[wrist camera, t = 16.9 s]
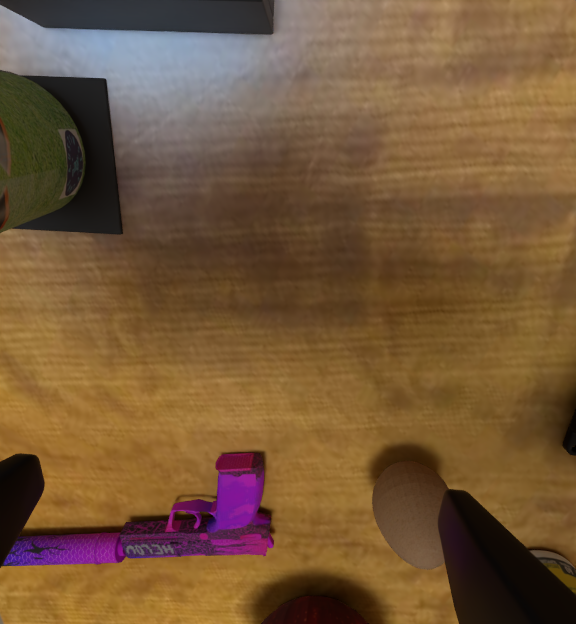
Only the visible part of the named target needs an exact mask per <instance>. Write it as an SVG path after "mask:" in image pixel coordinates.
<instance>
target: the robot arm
mask: <svg viewBox="0 0 576 624" xmlns="http://www.w3.org/2000/svg"><path fill="white" fill-rule="evenodd" d="M574 445H575V446H574ZM573 446H574V447H573ZM563 447H564V449H565V450H566V451H567V452H568V453H569V454H570V455H576V409H575V412H574V415H573V418H572V420H571V423H570V426H569V428H568V431H567V434H566V437H565V439H564V442H563ZM44 484H45V483H44V478H43V474H42V469H41V465H40V461H39V458H38V457H37V456H36V455H32V454H15V455H13V456H11V457H9V458H7V459H5V460H3V461H1V462H0V568H1V566H2V565H3V563H4V561H5V560H6V558H7V556H8V554H9V553H10V551H11V549H12V547H13V546H14V544H15V542H16V540H17V538H18V537H19V535H20V533H21V531H22V529H23V528H24V526H25V524H26V522H27V520H28V519H29V517H30V515H31V513H32V512H33V510H34V508H35V506H36V504H37V503H38V501H39V499H40V497H41V495H42V493H43V490H44ZM438 530H439V535H440V540H441V545H442V550H443V555H444V560H445V564H446V569H447V574H448V579H449V584H450V589H451V593H452V598H453V602H454V607H455V611H456V614H457V618H458V621H459V624H576V594H575V593H573V592H572V591H571V590H570V589H569V588H568V587H567V586H566V585H565V584H564V583H563V582H562V581H561V580H560V579H559V578H558V577H557V576H556V575H555V574H553V573H552V572H551V571H550V570H549V569H548V568H547V567H546V566H545V565H544V564H543V563H542V562H541V561H540V560H539V559H538V558H537V557H536V556H534V555H533V554H532V553H531V552H530V551H529V550H528V549H527V548H526V547H525V546H524V545H523V544H522V543H521V542H520V541H519V540H518V539H517V538H515V537H514V536H513V535H512V534H511V533H510V532H509V531H508V530H507V529H506V528H505V527H504V526H503V525H502V524H501V523H500V522H499V521H498V520H496V519H495V518H494V517H493V516H492V515H491V514H490V513H489V512H488V511H487V510H486V509H485V508H484V507H483V506H482V505H481V504H480V503H479V502H477V501H476V500H475V499H474V498H473V497H472V496H471V495H470V494H469V493H468V492H466V491H463V490H453V489H448V490H446V491H445V492H444V495H443V499H442V503H441V507H440V511H439V515H438Z"/></svg>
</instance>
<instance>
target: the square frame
mask: <svg viewBox="0 0 576 624" xmlns="http://www.w3.org/2000/svg"><path fill="white" fill-rule="evenodd" d="M0 5H2V6H4V7H6V8H8V9H10V10H12V11H13V12H15V13H17V14H19V15H21V16H23V17H25V18H27V19H29V20H31V21H33V22H35V23H37V24H38V25H40V26H42V27H54V28H87V29H120V30H154V31H187V32H220V33H253V34H272V33H273V16H274V0H0Z"/></svg>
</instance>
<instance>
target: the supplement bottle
mask: <svg viewBox="0 0 576 624" xmlns="http://www.w3.org/2000/svg"><path fill="white" fill-rule="evenodd" d="M530 552H531V553H532V554H533V555H534V556H536V557H537V558H538V559H539V560H540V561H541V562H542V563H543V564H544V565H545V566H546V567H547V568H548V569H549V570H550V571H551V572H552V573H553V574H555V575H556V576H557V577H558V578H559V579H560V580H561V581H562V582H563V583H564V584H565V585H566V586H567V587H568V588H569V589H570V590H571V591H572V592H573V593H575V594H576V569H575V568H574V566H573V565H572V564H571V563H570V562H569V561H568V560H567V559H565V558H564V557H562V556H560V555H558V554H556V553H553V552H549V551H542V550H531V551H530Z"/></svg>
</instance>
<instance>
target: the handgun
mask: <svg viewBox="0 0 576 624" xmlns="http://www.w3.org/2000/svg"><path fill="white" fill-rule="evenodd" d="M216 469H217V470H218V471H219V476H218V489H217V501H213V502H207V501H204V500H201V499H198V500H192V501H185V502H179V503H175V504H174V505H173V508H172V510H171V513H170V517H169V520H166V521H143V522H126V523H125V525H124V527H123V529H122V531H121V533H107V532H102V533H97V534H72V535H47V536H23V537H18V538H17V540H16V542H15V544H14V546H13V547H12V549H11V551H10V553H9V554H8V556H7V558H6V560H5V561H4V563H3V565H2V566H25V565H58V564H89V563H95V564H101V563H119V562H122V561H123V560H124V558H125V557H126V556H127V557H128V558H150V557H181V556H191V555H205V556H211V555H241V554H250V555H263V556H266V552H267V546H268V547H269V548H272V547H273V545H274V540H273V538H272V536H271V534H270V532H269V531H270V524H271V515H268V514H264V513H261V512H259V511H257V510H258V508H259V506H260V502H261V499H262V493H263V485H264V466H263V459H262V456H261V454H260V453H240V454H223V455H221V456H220V457H219V458H218V459H217V462H216ZM176 511H186V513H189V514H193V515H195V516H196V517H197V518H190V519H188V520H174V518H175V512H176ZM199 512H209V513H210V514H212V515H213V516H214V517H212V518H202V516H201V514H200V513H199Z"/></svg>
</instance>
